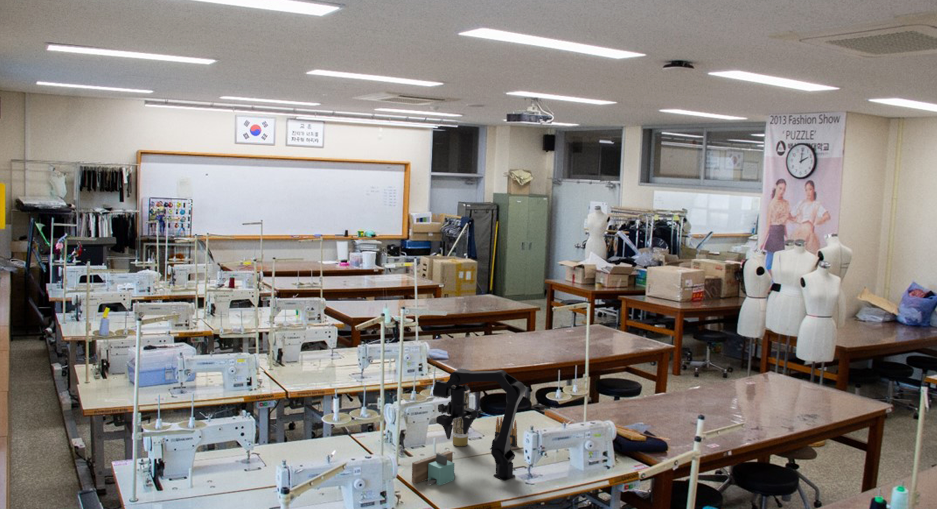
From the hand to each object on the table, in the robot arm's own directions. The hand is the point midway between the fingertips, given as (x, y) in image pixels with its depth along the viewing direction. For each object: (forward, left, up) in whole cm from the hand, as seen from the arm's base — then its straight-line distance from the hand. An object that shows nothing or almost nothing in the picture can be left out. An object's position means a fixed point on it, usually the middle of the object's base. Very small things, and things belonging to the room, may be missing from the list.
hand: (456, 436), depth 328 cm
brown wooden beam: (-3, +14, -13) cm, 19 cm away
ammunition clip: (+5, -36, -13) cm, 39 cm away
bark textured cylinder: (+18, -20, -13) cm, 30 cm away
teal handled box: (-6, +14, -13) cm, 20 cm away
